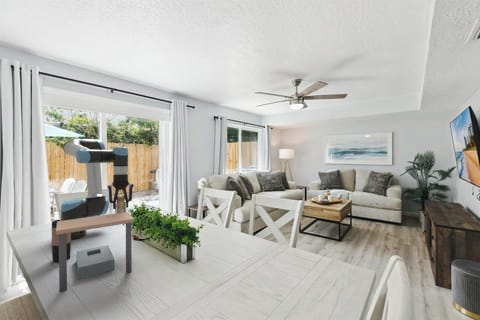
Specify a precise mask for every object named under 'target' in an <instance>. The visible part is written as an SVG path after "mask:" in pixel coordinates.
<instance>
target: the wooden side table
mask: <svg viewBox="0 0 480 320" xmlns="http://www.w3.org/2000/svg"><path fill="white" fill-rule="evenodd" d="M133 223H135V219H134V217H133V216H132V215H131V214H130V213H129V212H128V211H126V212H123V213H116V214H115V213H110V214H104V215H100V216H94V217H87V218H79V219H72V220H64V221H57V227H56V235H58V234H59V263H58V275H59V276H58V281H59V282H58V283H59V285H58V287H59V289H58V290H59V293H64V292H66V291H67V290H68V267H67V266H68V262H67V261H68V260H67V241H66V233H71V232H77V231H83V230H86V231H88V230H93V229H94V230H95V229H102V228H107V227H113V226H119V225H124V224H125V274H130V273H132V271H133V270H132V268H133V267H132V264H133V263H132V256H133V255H132V251H133V250H132V243H133V242H132V239H133V235H132V234H133V232H132V230H133V229H132V226H133V225H132V224H133Z"/></svg>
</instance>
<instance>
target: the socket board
mask: <svg viewBox="0 0 480 320" xmlns="http://www.w3.org/2000/svg"><path fill="white" fill-rule="evenodd" d="M75 255H76V256H75V257H76V270H77V271H76V272H77V279H78V280H81V279H83V278H84V279H85V278H89V277H92V276H96V275H101V274H102V273H103V274H104V273H108V272H110V271H114V270H115V257H114V255H113V253H112V250H111V248H110V246H109V244H108V245H101V246H98V247H97V246H96V247H93V248H87V249H84V250H83V249H82V250H78V251H76V254H75Z"/></svg>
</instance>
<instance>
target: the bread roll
mask: <svg viewBox="0 0 480 320" xmlns="http://www.w3.org/2000/svg"><path fill="white" fill-rule="evenodd" d="M133 238H134V240H136V241H137V240H138V241H140V240H139V237H138V236H136V235H134V234H133V235H132V239H133Z"/></svg>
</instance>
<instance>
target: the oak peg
mask: <svg viewBox="0 0 480 320" xmlns="http://www.w3.org/2000/svg"><path fill="white" fill-rule="evenodd" d="M125 202H126V201H125V196H124V195H118V196H117V200H116V203H117V213H123V212H125Z"/></svg>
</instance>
